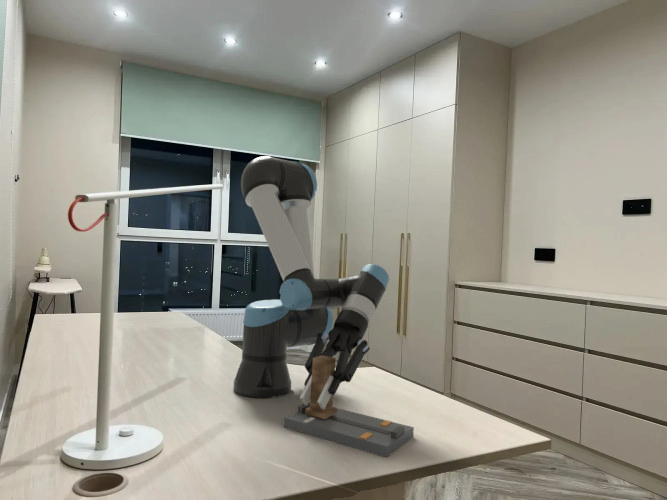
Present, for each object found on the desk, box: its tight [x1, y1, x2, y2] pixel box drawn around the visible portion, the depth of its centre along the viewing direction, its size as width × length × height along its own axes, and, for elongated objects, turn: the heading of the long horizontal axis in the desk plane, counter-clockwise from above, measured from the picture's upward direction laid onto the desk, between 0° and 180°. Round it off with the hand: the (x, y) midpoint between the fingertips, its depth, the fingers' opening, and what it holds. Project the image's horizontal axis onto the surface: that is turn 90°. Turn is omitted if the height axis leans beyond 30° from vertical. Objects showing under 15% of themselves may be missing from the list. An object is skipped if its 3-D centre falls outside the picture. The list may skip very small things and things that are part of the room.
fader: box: [305, 355, 338, 419], centre depth 111 cm, size 5×5×12 cm
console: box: [283, 402, 415, 458], centre depth 107 cm, size 24×13×3 cm, turn 59°
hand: (312, 403), depth 107 cm, fingers closed on fader, 4 cm apart
